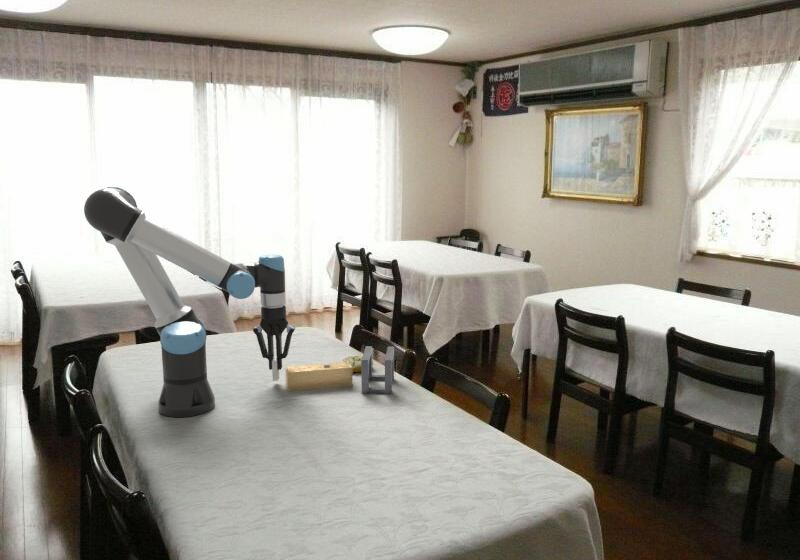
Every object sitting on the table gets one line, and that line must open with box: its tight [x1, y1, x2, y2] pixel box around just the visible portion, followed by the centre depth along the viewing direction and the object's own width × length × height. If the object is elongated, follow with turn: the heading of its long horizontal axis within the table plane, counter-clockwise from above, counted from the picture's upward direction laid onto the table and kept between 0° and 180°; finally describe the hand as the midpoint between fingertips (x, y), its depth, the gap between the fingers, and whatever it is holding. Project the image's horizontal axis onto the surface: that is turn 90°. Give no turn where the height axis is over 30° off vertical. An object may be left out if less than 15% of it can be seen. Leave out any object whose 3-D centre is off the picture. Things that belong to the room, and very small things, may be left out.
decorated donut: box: [340, 354, 374, 374], centre depth 219 cm, size 10×11×4 cm
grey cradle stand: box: [360, 345, 395, 395], centre depth 202 cm, size 14×9×10 cm, turn 178°
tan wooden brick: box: [284, 361, 354, 392], centre depth 203 cm, size 20×6×6 cm, turn 105°
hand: (276, 379), depth 203 cm, fingers closed
